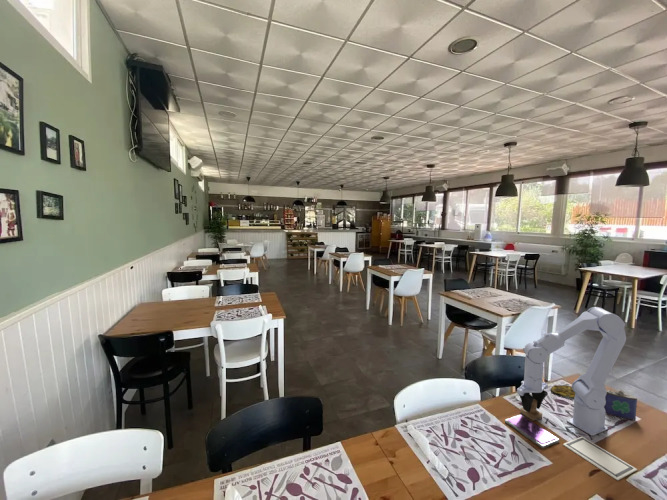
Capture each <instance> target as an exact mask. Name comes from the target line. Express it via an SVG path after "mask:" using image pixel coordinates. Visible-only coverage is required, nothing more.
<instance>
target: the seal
mask: <svg viewBox="0 0 667 500" xmlns="http://www.w3.org/2000/svg"><path fill="white" fill-rule="evenodd" d="M550 392H551V394H555V395H557V396H559V397H561V396H562V398H565V399H569V400H571V399H573V400H574V397H575V392H574V391H573V389H572V385H571V386H570V385H565V384H564V385H562V384H561V385H560V384H557V385H556V384H554V385H553V386H551V388H550Z"/></svg>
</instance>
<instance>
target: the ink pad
mask: <svg viewBox="0 0 667 500" xmlns="http://www.w3.org/2000/svg"><path fill="white" fill-rule="evenodd" d="M504 422H505V424H506V425H508V426H510V427H512V428H513V429H514V430H516V431H517V432H518V433H520V434H521V435H523V436H524V437H526V438H527V439H528V440H530V442H532V443H534V444H536V445H537V446H538V447H539V448H541V449H545V448H547V447H551V446H552V445H555V444H558V443H560V438H558V437H557V436H555V435H553V434H552V433H551V432H549V431H547V430H546V429H544V428H543V427H541V426H539V425H538V424H536V423H535V422H534V421H532V420H531V419H529V418H528V417H526V416H524V415H523V414H518V415H514V416H512V417H510V418H509V417H508V418H505V419H504Z"/></svg>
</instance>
